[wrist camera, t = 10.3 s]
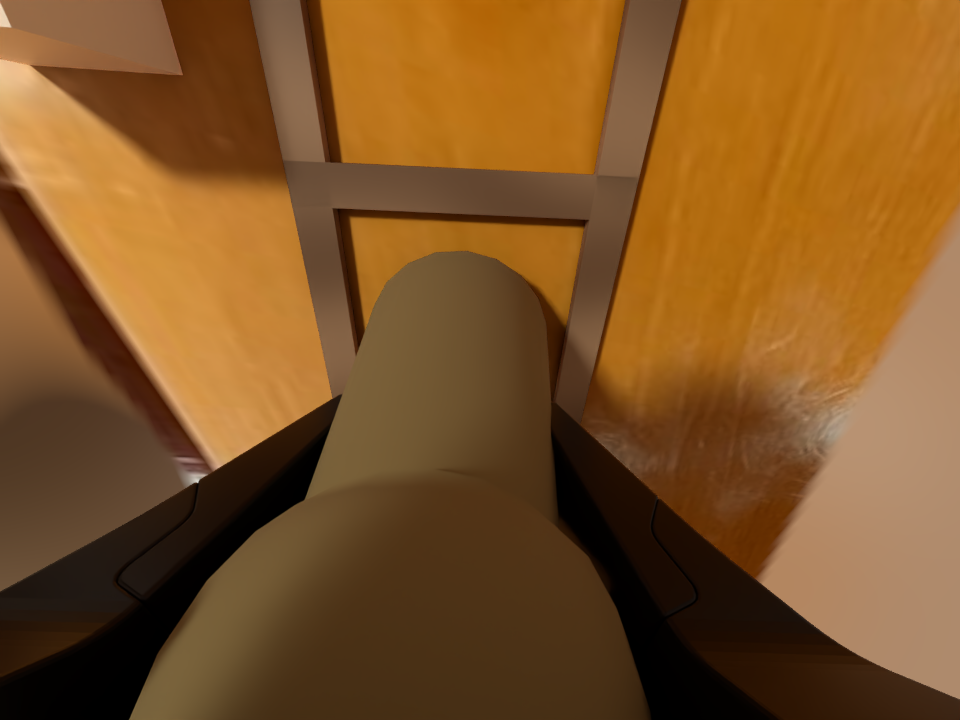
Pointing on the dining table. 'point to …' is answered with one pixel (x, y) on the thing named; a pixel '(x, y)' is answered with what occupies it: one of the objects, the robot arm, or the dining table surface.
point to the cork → (416, 542)
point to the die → (88, 35)
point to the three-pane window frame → (464, 183)
